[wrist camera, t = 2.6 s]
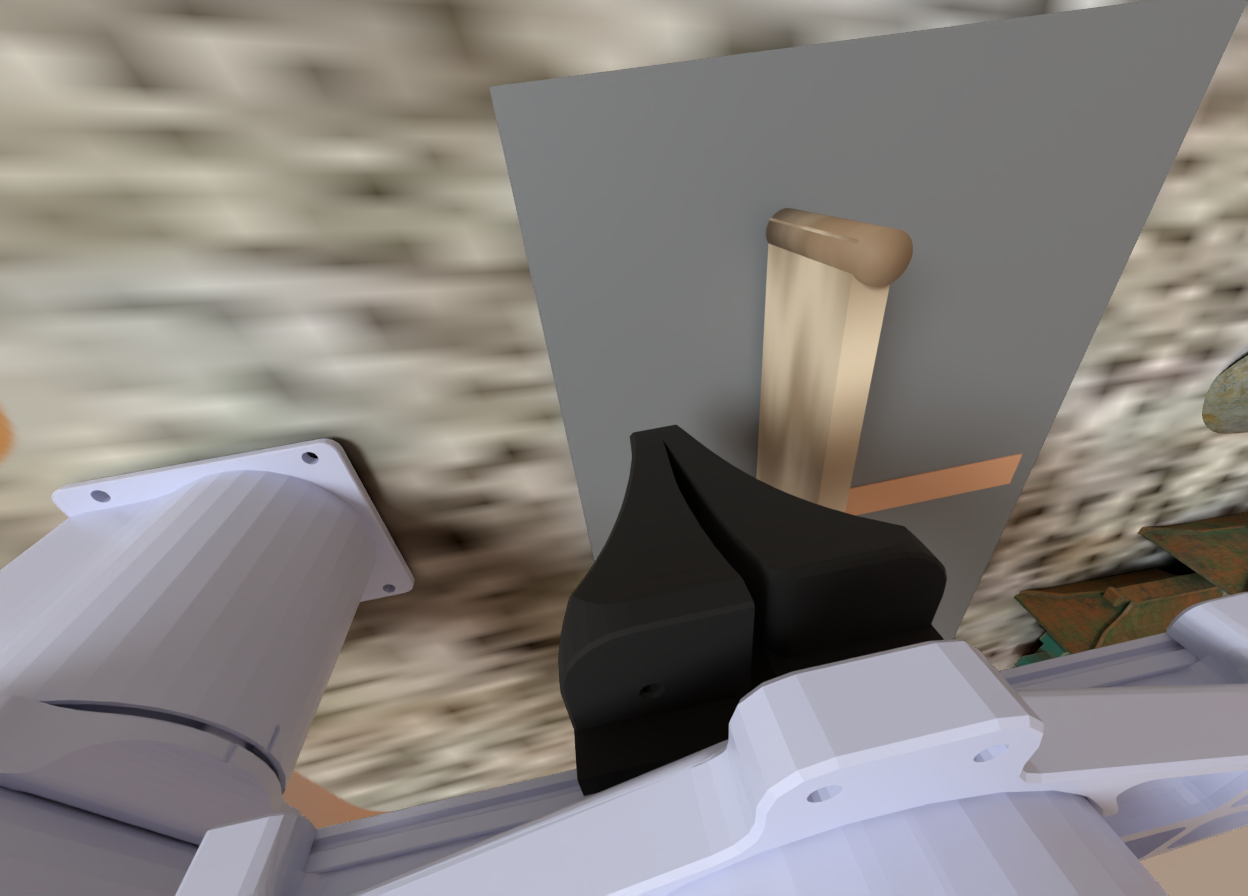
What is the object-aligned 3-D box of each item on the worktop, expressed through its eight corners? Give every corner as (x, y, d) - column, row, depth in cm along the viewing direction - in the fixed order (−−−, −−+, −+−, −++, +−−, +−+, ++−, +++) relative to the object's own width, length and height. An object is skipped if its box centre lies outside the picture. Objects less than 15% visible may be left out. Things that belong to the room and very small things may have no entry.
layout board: (628, 710, 30) (646, 822, 25) (491, 89, 12) (459, 41, 7) (943, 637, 31) (1021, 728, 26) (1227, -7, 14) (1627, -103, 9)
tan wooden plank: (778, 507, 21) (839, 595, 16) (752, 512, 21) (807, 602, 16) (804, 204, 14) (918, 225, 10) (766, 210, 14) (865, 233, 10)
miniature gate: (938, 804, 40) (1173, 595, 22) (897, 734, 44) (1064, 513, 26) (1202, 741, 42) (1605, 510, 24) (1139, 681, 47) (1441, 449, 29)
